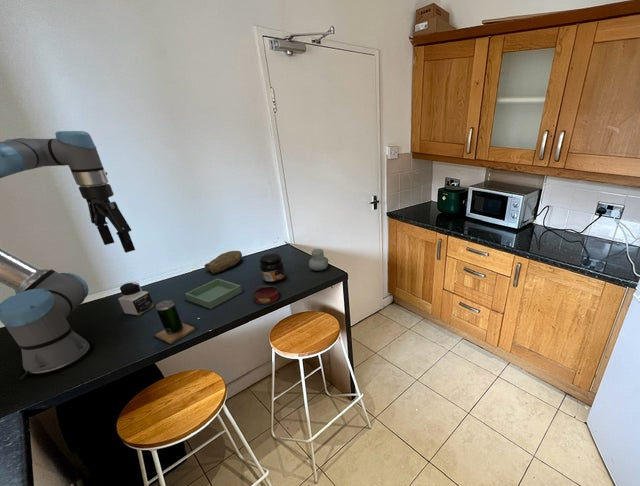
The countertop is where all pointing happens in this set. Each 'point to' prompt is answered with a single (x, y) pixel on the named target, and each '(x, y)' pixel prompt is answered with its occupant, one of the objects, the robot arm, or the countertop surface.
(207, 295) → the bin
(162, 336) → the coaster
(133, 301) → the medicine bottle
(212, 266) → the brown oval lump
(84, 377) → the countertop surface
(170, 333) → the beer can
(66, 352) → the robot arm
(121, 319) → the countertop surface
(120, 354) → the countertop surface
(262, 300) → the canned food
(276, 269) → the supplement container
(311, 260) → the air freshener
